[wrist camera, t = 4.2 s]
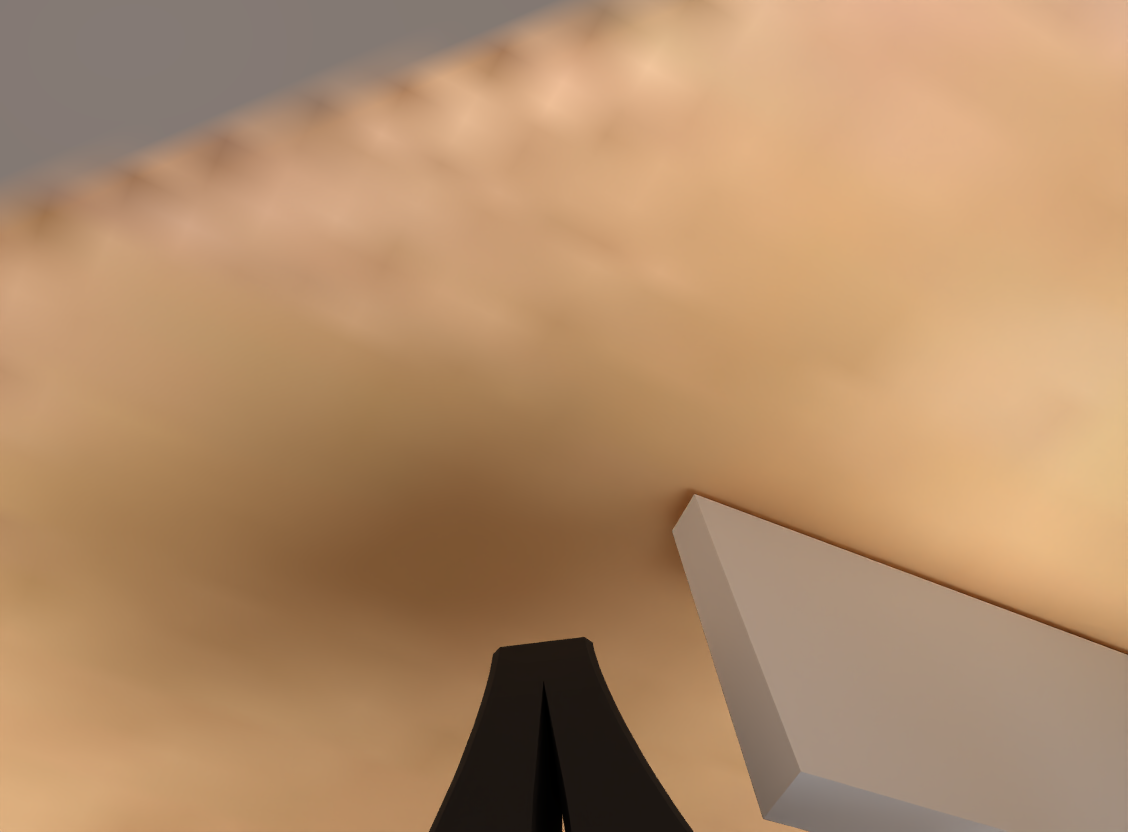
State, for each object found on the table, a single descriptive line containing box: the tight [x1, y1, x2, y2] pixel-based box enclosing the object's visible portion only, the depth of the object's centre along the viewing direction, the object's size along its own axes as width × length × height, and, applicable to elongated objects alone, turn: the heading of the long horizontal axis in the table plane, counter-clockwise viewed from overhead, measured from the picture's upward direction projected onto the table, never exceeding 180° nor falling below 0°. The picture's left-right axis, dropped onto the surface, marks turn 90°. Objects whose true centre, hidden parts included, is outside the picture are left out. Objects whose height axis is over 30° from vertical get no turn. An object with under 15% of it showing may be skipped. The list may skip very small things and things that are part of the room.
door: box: [672, 494, 1128, 832], centre depth 14 cm, size 2×14×6 cm, turn 65°
